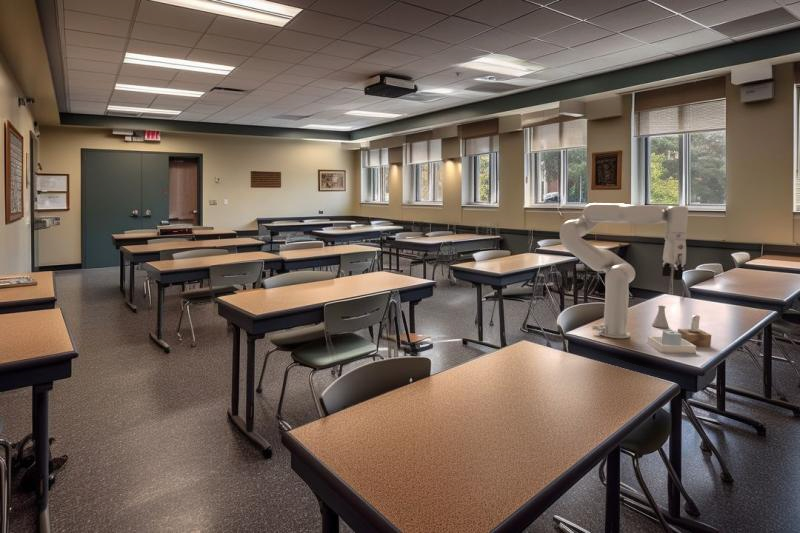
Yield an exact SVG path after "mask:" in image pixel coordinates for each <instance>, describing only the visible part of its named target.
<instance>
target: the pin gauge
mask: <svg viewBox="0 0 800 533" xmlns="http://www.w3.org/2000/svg"><path fill="white" fill-rule="evenodd" d="M700 319H701V316H700V315H696V314H692V315H691V323H690V329H691V331H690V333H698V329H699V328H700V321H701V320H700Z"/></svg>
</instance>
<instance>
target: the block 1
mask: <svg viewBox="0 0 800 533" xmlns="http://www.w3.org/2000/svg"><path fill="white" fill-rule="evenodd" d="M681 335H682V334H680V333H678V331H676V330H662V335H661V337H662V345H681Z"/></svg>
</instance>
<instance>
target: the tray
mask: <svg viewBox="0 0 800 533" xmlns="http://www.w3.org/2000/svg"><path fill="white" fill-rule="evenodd" d="M646 344H648V345H649V346H650V347H653V348H654V349H655V350H657V351H658V352H660V353H661V354H662V353H664V354H667V353H668V354H689V355H690V354H691V355H692V354H693V355H695V354H697V353H696V352H697V347H696V346H695V345H693V344H691V343H689V342H688V341H686V340H684V339H682V338H681V345H662V336H653V335H651V336H650V335H649V336H647V343H646Z"/></svg>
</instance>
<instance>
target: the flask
mask: <svg viewBox="0 0 800 533" xmlns="http://www.w3.org/2000/svg"><path fill="white" fill-rule="evenodd" d="M657 307H658V310H657V314H656V316H655V318H654V319H653V322H652V324H651V326H652V327H655V328H661V329H667V328H670V327H669V323H668V321H667V320H668V319H667V317H666V311H665V310H666V308H667V306H665V305H658V306H657Z"/></svg>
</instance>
